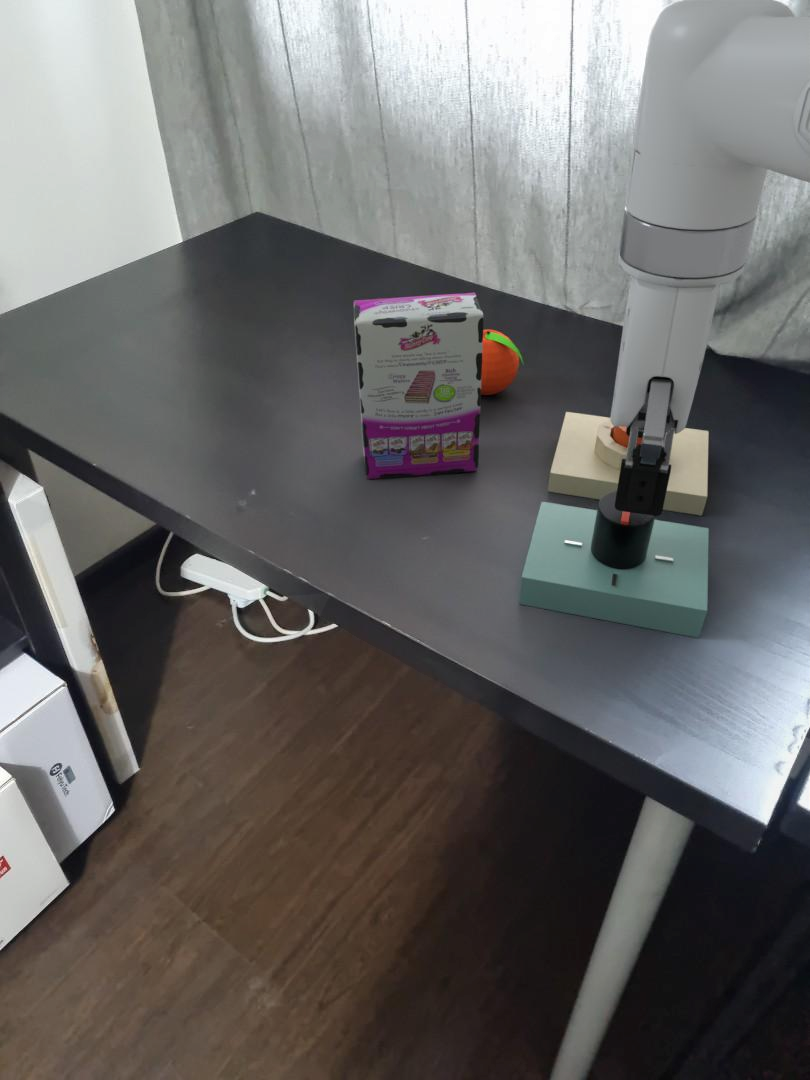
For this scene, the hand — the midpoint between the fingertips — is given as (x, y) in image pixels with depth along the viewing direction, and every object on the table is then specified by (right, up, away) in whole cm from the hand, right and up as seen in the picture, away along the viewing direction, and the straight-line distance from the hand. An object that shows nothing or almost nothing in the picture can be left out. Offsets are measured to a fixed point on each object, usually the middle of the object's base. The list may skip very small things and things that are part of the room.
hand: (642, 471), depth 61 cm
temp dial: (0, -6, +6) cm, 8 cm away
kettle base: (+4, +2, +19) cm, 20 cm away
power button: (+4, +4, +17) cm, 18 cm away
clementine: (-8, +11, +31) cm, 34 cm away
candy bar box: (-16, +3, +21) cm, 26 cm away
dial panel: (0, -8, +8) cm, 11 cm away
